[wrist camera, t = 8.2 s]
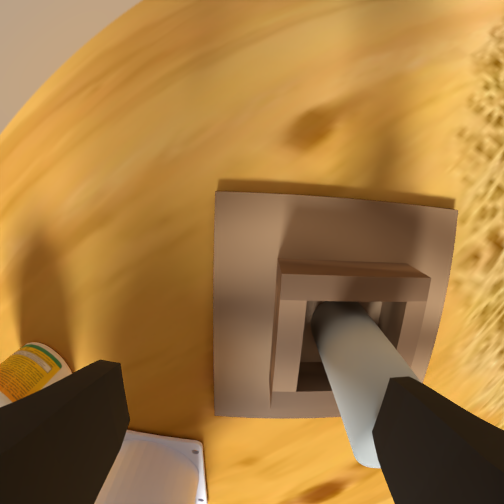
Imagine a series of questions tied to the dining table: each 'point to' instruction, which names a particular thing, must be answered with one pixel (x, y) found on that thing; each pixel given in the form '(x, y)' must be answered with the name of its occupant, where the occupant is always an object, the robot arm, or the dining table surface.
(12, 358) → the supplement bottle
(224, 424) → the dining table surface
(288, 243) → the socket block
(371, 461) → the peg
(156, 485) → the robot arm
